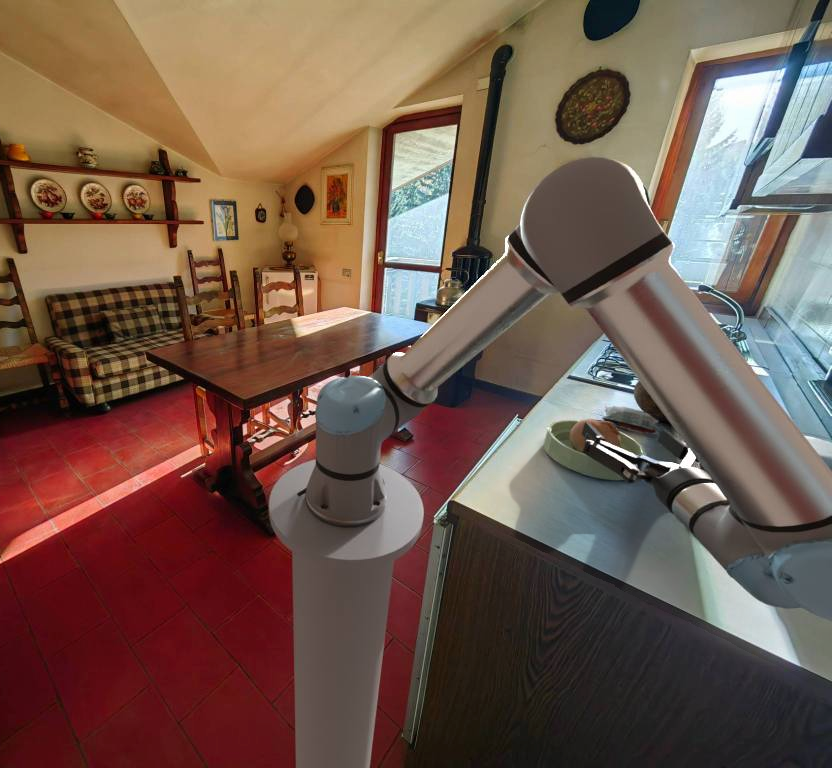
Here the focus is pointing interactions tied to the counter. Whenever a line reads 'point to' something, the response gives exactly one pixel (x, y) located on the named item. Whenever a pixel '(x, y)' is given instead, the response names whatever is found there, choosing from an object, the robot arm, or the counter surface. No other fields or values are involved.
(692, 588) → the counter surface
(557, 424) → the bowl
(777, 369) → the counter surface
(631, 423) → the packaged food
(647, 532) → the counter surface
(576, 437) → the onion
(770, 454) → the robot arm
